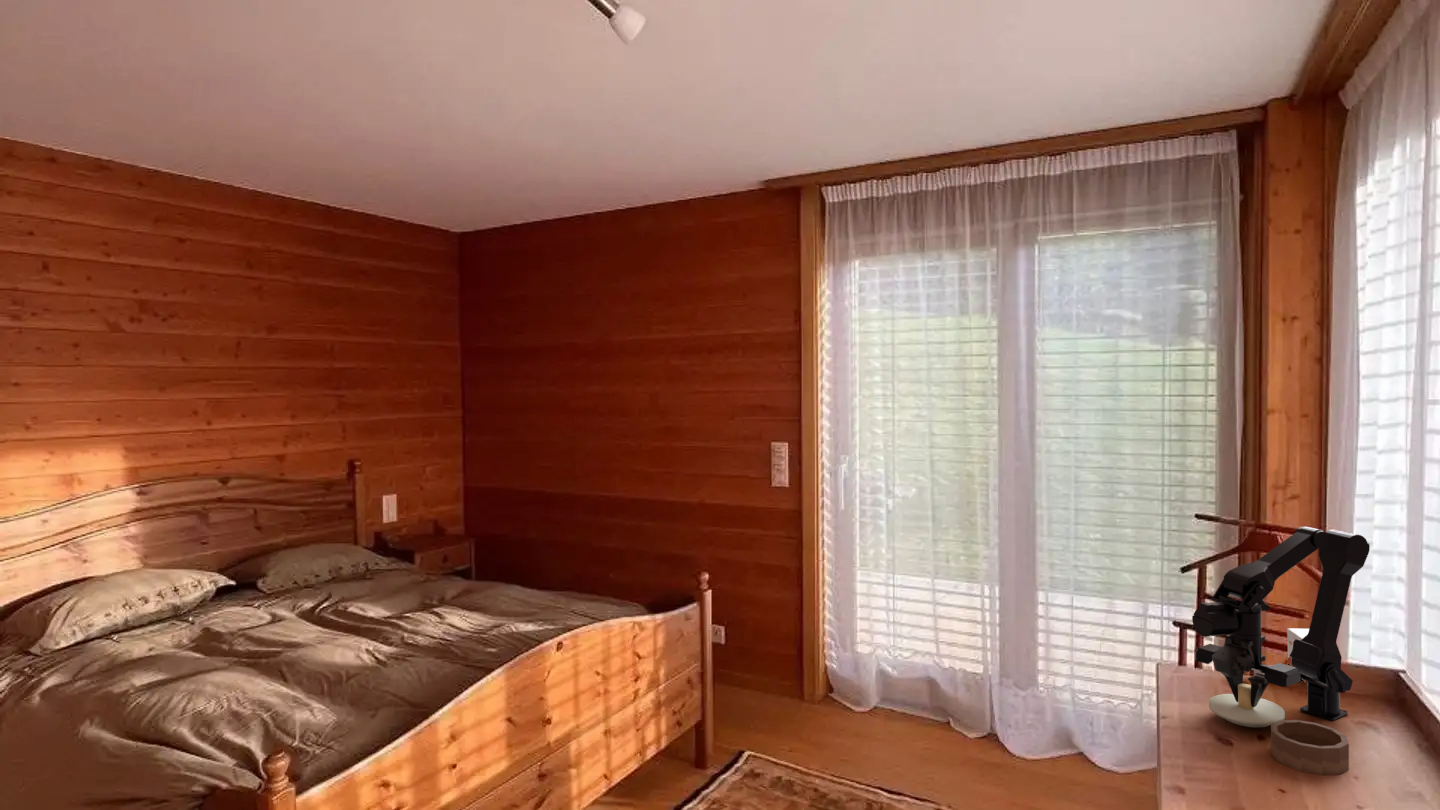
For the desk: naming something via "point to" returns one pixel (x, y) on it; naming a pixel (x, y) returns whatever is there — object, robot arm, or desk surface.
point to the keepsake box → (1310, 747)
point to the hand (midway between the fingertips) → (1246, 704)
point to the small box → (1295, 637)
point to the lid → (1246, 709)
